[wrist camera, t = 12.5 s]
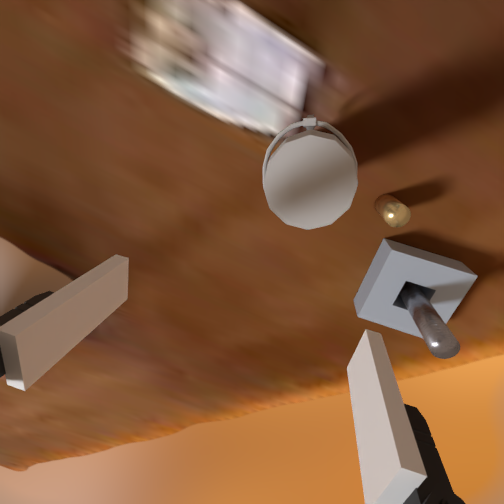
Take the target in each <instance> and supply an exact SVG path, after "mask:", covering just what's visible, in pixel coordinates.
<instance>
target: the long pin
mask: <svg viewBox="0 0 504 504" xmlns="http://www.w3.org/2000/svg"><path fill="white" fill-rule="evenodd" d="M399 295H400V296H401V298H402V300H403V302H404V304H405V306H406V307H407V309H408V311H409V313H410V315H411V317H412V318H413V320H414V322H415V324H416V326H417V327H418V329H419V331H420V333H421V335H422V337H423V338H424V340H425V342H426V344H427V346H428V348H429V349H430V351H431V353H432V354H433V355H434V356H435V357H438V358H442V359H446V358H451V357H453V356H455V355H456V354H457V353H458V352H459V350H460V344H459V342H458V341H457V340H456V338H455V337H454V335H453V334H452V332H451V331H450V330H449V328H448V327H447V325H446V324H445V323H444V321H443V320H442V318H441V317H440V315H439V314H438V313H437V311H436V310H435V308H434V307H433V306H432V304H431V303H430V301H429V300H428V298H427V297H426V296H425V294H424V293H423V291H422V290H421V289H420V287H419V286H418V284H415V283H412V282H408V281H406V282H405V283H404V285H403V287H402V289H401V290H400V292H399Z"/></svg>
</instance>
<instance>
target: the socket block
mask: <svg viewBox="0 0 504 504" xmlns="http://www.w3.org/2000/svg"><path fill="white" fill-rule="evenodd" d="M477 277H478V276H477V275H476V274H475V273H474V272H472V271H471V270H470V269H469V268H468V267H467V266H465V265H464V264H463V263H462V262H460V261H457V260H454V259H450V258H447V257H444V256H441V255H437V254H434V253H431V252H428V251H424V250H421V249H418V248H414V247H411V246H408V245H405V244H401V243H398V242H395V241H392V240H388V239H385V238H384V239H383V241H382V243H381V245H380V247H379V249H378V251H377V253H376V255H375V257H374V259H373V261H372V263H371V266H370V268H369V270H368V272H367V274H366V276H365V278H364V280H363V282H362V284H361V286H360V288H359V290H358V292H357V294H356V296H355V298H354V304H355V308H356V312H357V316H358V317H360V318H363V319H366V320H369V321H372V322H375V323H378V324H381V325H384V326H387V327H390V328H393V329H396V330H399V331H402V332H405V333H408V334H412V335H415V336H418V337H421V338H423V337H422V335H421V333H420V331H419V329H418V327H417V326H416V324H415V322H414V320H413V318H412V317H411V315H410V313H409V311H408V309H407V307H406V306H405V304H404V302H403V300H402V298H401V296H400V295H399V292H400V290H401V289H402V287H403V285H404V283H405V282H406V281H408V282H412V283H415V284H418V286H419V287H420V289H421V290H422V291H423V293H424V294H425V296H426V297H427V298H428V300H429V301H430V303H431V304H432V306H433V307H434V308H435V310H436V311H437V313H438V314H439V315H440V317H441V318H442V320H443V321H444V323H445V324H446V323H447V321H448V320H449V318H450V317H451V315H452V314H453V312H454V311H455V309H456V308H457V307H458V305H459V304H460V302H461V301H462V299H463V298H464V296H465V295H466V293H467V292H468V290H469V289H470V287H471V286H472V284H473V283H474V281H475V280H476V278H477Z"/></svg>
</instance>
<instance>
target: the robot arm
mask: <svg viewBox="0 0 504 504" xmlns="http://www.w3.org/2000/svg"><path fill="white" fill-rule="evenodd" d="M128 263H129V258H126V257H122V256H119V255H114V256H113V257H111V258H110V259H108V260H106V261H105V262H103V263H102V264H100V265H98V266H97V267H95V268H94V269H92V270H90V271H89V272H87V273H86V274H84V275H82V276H81V277H79V278H78V279H76V280H74V281H73V282H71V283H70V284H68V285H66V286H65V287H63V288H61V289H60V290H58V291H57V292H55V293H54V292H51V291H48V292H45V293H42V294H39V295H36V296H34V297H32V298H31V299H29V300H27V301H26V302H25V303H24V304H21V305H19V306H17V307H16V308H15V309H12V310H10V311H9V312H7V313H5V314H4V315H2V316H0V377H2V376H3V375H4V374H5V376H6V380H7V385H10V386H13V387H15V388H18V389H21V390H24V391H25V390H27V389H28V388H29V387H30V386H31V385H32V384H33V383H34V382H36V381H37V380H38V379H39V378H40V377H41V376H42V375H43V374H44V373H46V372H47V371H48V370H49V369H50V368H51V367H52V366H53V365H54V364H56V363H57V362H58V361H59V360H60V359H61V358H62V357H63V356H64V355H66V354H67V353H68V352H69V351H70V350H71V349H72V348H73V347H75V346H76V345H77V344H78V343H79V342H80V341H81V340H82V339H83V338H85V337H86V336H87V335H88V334H89V333H90V332H91V331H92V330H93V329H95V328H96V327H97V326H98V325H99V324H100V323H101V322H102V321H103V320H105V319H106V318H107V317H108V316H109V315H110V314H111V313H112V312H114V311H115V310H116V309H117V308H118V307H119V306H120V305H121V304H122V303H124V302H125V301H126V300H127V292H128ZM347 372H348V380H349V387H350V394H351V402H352V409H353V416H354V424H355V432H356V439H357V446H358V453H359V461H360V469H361V476H362V483H363V490H364V498H365V504H465V503H464V501H463V500H462V499H461V498H459V497H458V496H457V495H456V494H454V492H453V490H452V487H451V485H450V482H449V479H448V477H447V474H446V472H445V469H444V466H443V464H442V461H441V458H440V456H439V453H438V451H437V449H436V448H435V443H434V440H433V438H432V437H431V433H430V430H429V427H428V425H427V422H426V420H425V419H424V417H423V416H422V415H421V413H420V412H419V411H418V409H417V408H416V407H413V406H410V405H406V404H404V403H403V401H402V397H401V394H400V391H399V388H398V385H397V382H396V379H395V376H394V372H393V369H392V366H391V363H390V360H389V357H388V354H387V351H386V348H385V345H384V342H383V339H382V335H381V334H380V333H377V332H374V331H370V330H367V329H366V330H365V332H364V334H363V336H362V338H361V340H360V342H359V344H358V346H357V348H356V350H355V352H354V355H353V357H352V359H351V361H350V363H349V365H348V367H347Z"/></svg>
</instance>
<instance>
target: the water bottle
mask: <svg viewBox="0 0 504 504" xmlns="http://www.w3.org/2000/svg"><path fill="white" fill-rule="evenodd" d="M316 125H317V126H321V127H324V128H326V129H328V130H330V131H331V132H333V133H334V134H335V135H336V136H337V137H339V139H340V140H341V141H342V142H343V143H344V144H343V143H342V142H341V141H340V140H339V139H338V138H337V137H336V136H335V135H333V134H329V133H324V132H320V131H316V130H314V127H315V126H316ZM300 126H303V127H306V129H307V131H304V132H302V133H299V134H296V135H293V136H290V137H287V138H286V139H285V141H284V142H283V143H282V144H281V145H280V146H279V147H278V148H277V150H276V151H275V152H274V153H273V154H272V155H271V157H270V159H269V156H270V153H271V151H272V149H273V148H274V146H275V144H276V143H277V142H278V141H279V139H280V138H281V137H282V136H283V135H285V134H286V133H287V132H288V131H290V130H292V129H294V128H297V127H300ZM268 159H269V162H268ZM267 163H268V166H267ZM357 165H358V163H357V160H356V157H355V154H354V151H353V148H352V146H351V145H350V144H349V142H348V141H347V140H346V138H345V137H344V136H343V135H342V133H340V132H339V131H338V130H337V129H335V128H334V127H333V126H331V125H330V124H329V123H327V122H322V121H316V118H314V115H308V116H307V118H304V119H303V121H300V122H296V123H292V124H291V125H289V126H288V127H286V128H285V129H284V130H282V131H281V132H280V133H278V134H277V136H276V137H275V139H274V140H273V142H272V143H271V144H270V146H269V147H268V149H267V152H266V156H265V160H264V164H263V188H264V191H265V195H266V198H267V201H268V205H269V208H270V209H271V210H272V211H273V212H274V213H275V214H276V215H277V216H278V217H279V218H280V219H281V220H282V221H283V222H284V223H285V224H288V225H291V226H295V227H299V228H303V229H307V230H309V229H314V228H318V227H322V226H326V225H330V224H332V223H333V222H334V221H335V220H336V219H338V218H339V217H340V216H341V215H342V214H343V213H344V212H346V211H347V210H348V209H349V208H350V205H351V203H352V200H353V197H354V194H355V191H356V189H357V186H358V181H357ZM266 168H267V170H266Z"/></svg>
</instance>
